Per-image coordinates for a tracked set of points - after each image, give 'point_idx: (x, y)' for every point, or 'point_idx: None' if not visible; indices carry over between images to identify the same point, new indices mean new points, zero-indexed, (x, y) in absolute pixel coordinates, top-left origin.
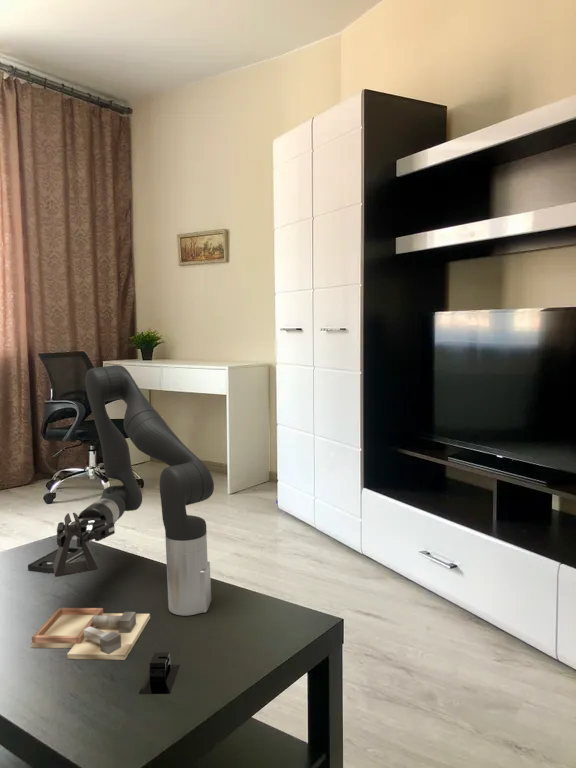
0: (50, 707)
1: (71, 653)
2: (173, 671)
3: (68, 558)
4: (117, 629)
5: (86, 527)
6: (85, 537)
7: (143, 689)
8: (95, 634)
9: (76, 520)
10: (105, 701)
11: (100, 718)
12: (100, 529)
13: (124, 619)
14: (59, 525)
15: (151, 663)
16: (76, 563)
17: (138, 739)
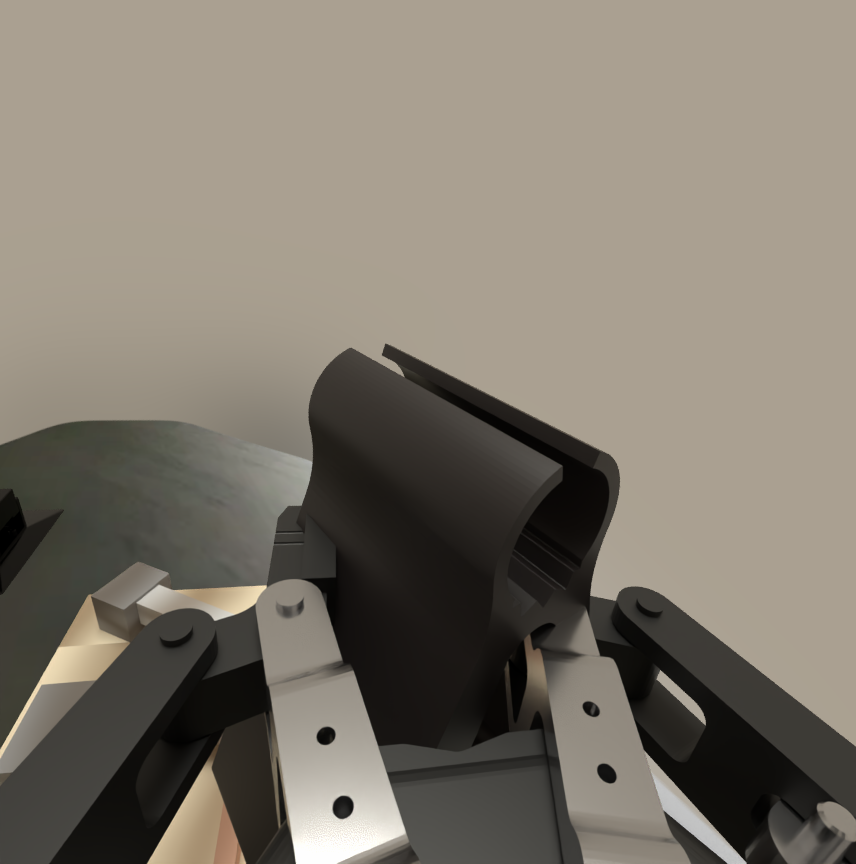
0: (253, 479)
1: (265, 587)
2: None
3: None
4: None
5: (387, 745)
6: (278, 528)
7: (49, 516)
8: (189, 597)
9: (343, 354)
10: (142, 492)
11: (148, 465)
12: (127, 647)
13: (66, 692)
14: (826, 742)
15: (6, 489)
16: None
17: (77, 441)
